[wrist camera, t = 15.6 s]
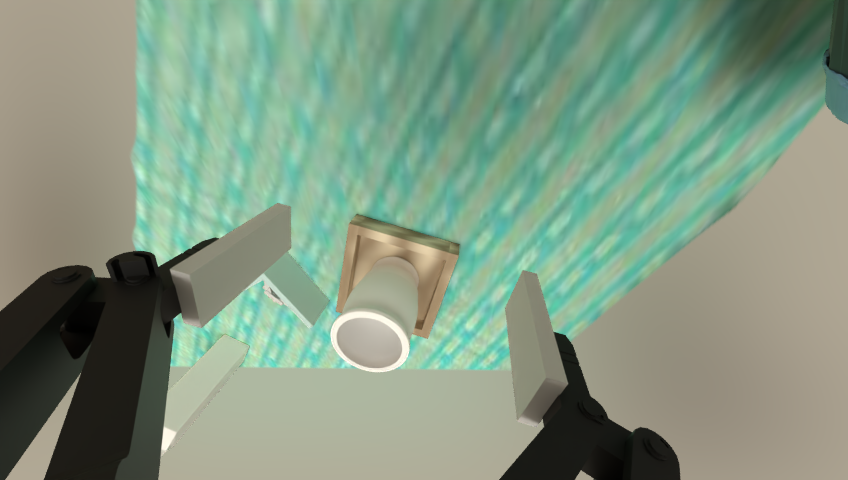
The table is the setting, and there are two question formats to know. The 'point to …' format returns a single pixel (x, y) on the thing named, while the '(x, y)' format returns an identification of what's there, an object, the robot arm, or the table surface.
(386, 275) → the jar
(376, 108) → the table surface
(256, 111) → the table surface
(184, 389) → the milk
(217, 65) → the table surface
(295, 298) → the l-shaped corner panel
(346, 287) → the wooden tray
